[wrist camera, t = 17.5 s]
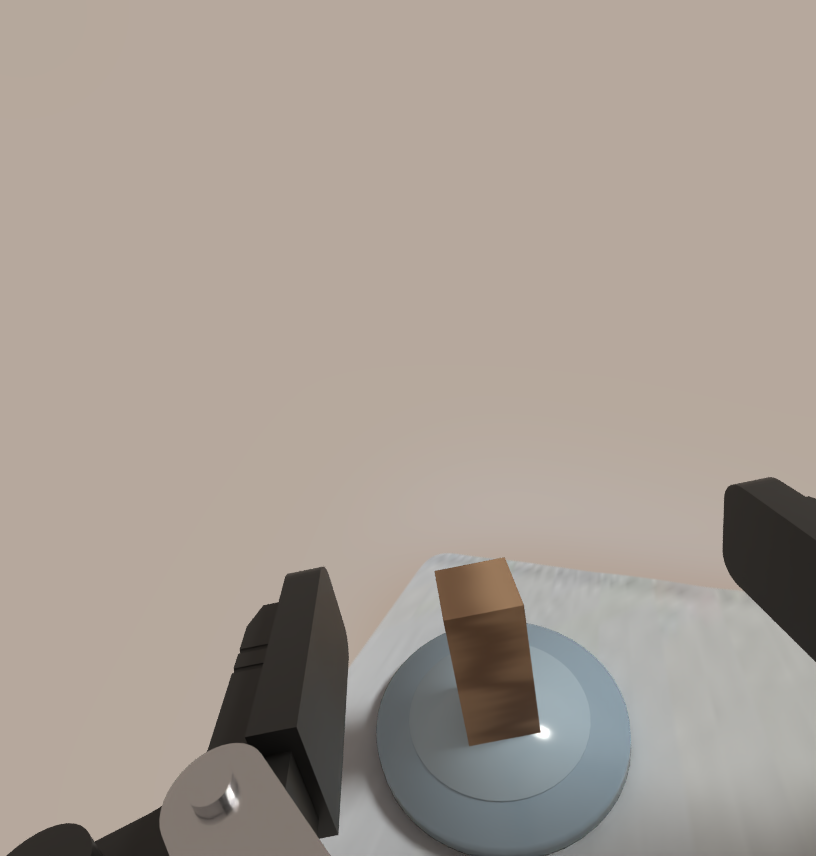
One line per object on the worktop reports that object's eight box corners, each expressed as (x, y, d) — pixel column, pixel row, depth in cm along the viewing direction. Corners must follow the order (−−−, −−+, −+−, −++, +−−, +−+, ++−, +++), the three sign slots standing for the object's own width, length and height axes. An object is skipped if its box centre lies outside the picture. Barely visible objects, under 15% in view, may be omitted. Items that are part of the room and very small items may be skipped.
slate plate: (630, 646, 43) (630, 634, 42) (631, 905, 27) (630, 890, 27) (425, 620, 50) (423, 609, 49) (336, 813, 35) (331, 799, 34)
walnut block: (521, 674, 40) (504, 557, 37) (540, 732, 36) (523, 605, 32) (458, 687, 41) (434, 571, 37) (469, 746, 36) (443, 620, 32)
